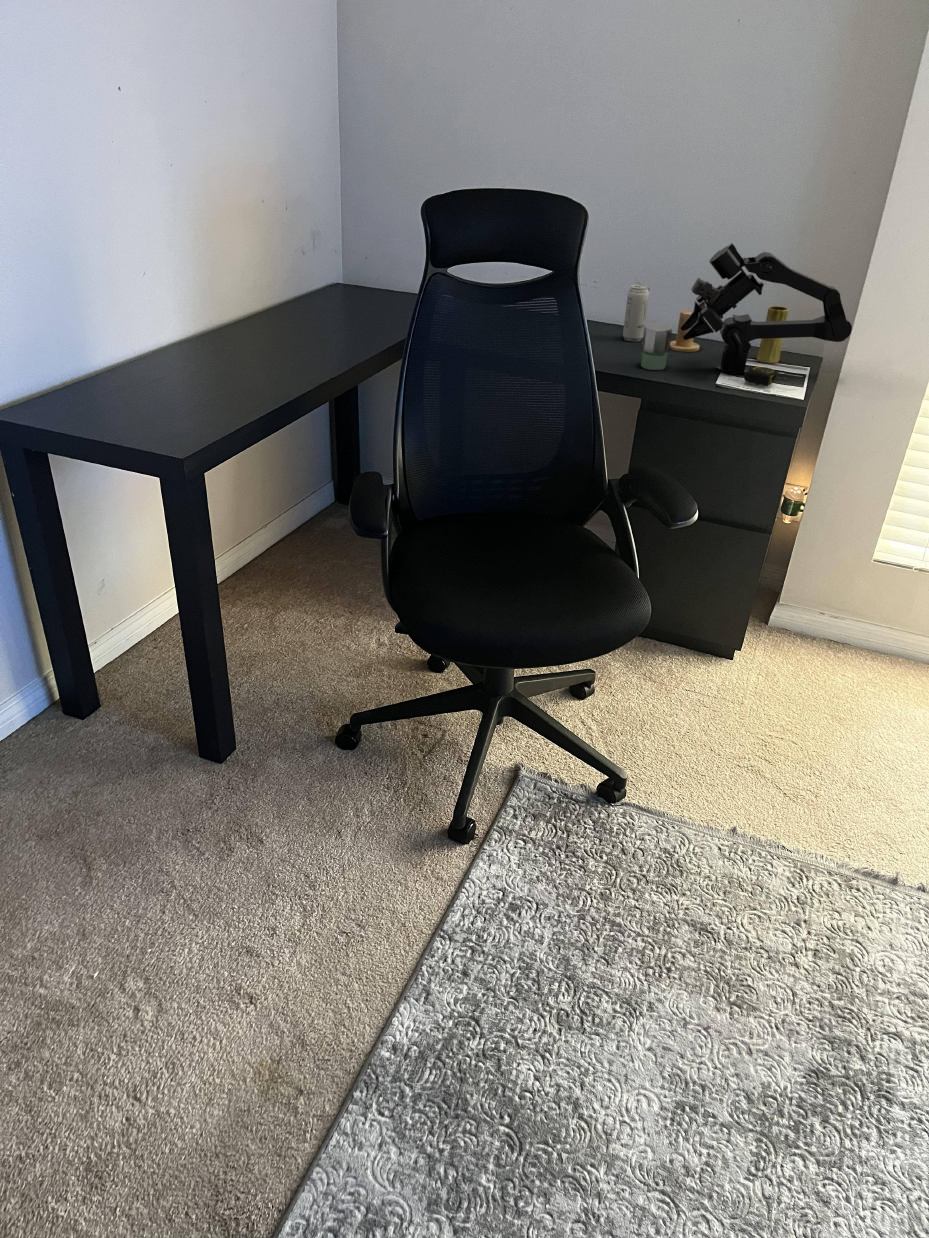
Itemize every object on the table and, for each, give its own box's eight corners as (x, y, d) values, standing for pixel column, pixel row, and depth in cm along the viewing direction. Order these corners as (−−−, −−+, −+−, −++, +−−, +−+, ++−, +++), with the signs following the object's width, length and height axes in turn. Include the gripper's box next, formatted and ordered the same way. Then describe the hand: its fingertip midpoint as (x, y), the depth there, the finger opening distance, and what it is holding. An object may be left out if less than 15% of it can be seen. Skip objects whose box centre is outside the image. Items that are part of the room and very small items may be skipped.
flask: (670, 369, 237) (675, 331, 231) (648, 371, 235) (653, 333, 229) (657, 362, 242) (662, 325, 236) (636, 364, 240) (641, 326, 234)
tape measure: (741, 384, 227) (744, 369, 225) (752, 378, 231) (755, 364, 229) (766, 390, 223) (769, 375, 221) (777, 384, 228) (780, 369, 226)
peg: (705, 350, 253) (711, 315, 247) (678, 353, 250) (684, 317, 245) (688, 342, 260) (693, 307, 254) (661, 344, 257) (666, 309, 252)
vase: (774, 365, 242) (785, 311, 234) (752, 360, 245) (763, 308, 238) (782, 360, 246) (793, 307, 239) (761, 356, 249) (771, 304, 242)
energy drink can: (641, 343, 258) (648, 289, 250) (620, 340, 260) (627, 287, 252) (644, 338, 263) (651, 285, 255) (624, 335, 264) (630, 283, 256)
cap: (668, 347, 239) (671, 324, 235) (669, 354, 232) (673, 331, 229) (641, 345, 239) (643, 322, 236) (641, 352, 233) (644, 329, 230)
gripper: (710, 261, 231) (662, 302, 238) (717, 275, 215) (665, 319, 222) (735, 294, 234) (686, 333, 241) (744, 310, 219) (692, 352, 226)
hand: (682, 334), depth 233 cm, fingers open, 9 cm apart
